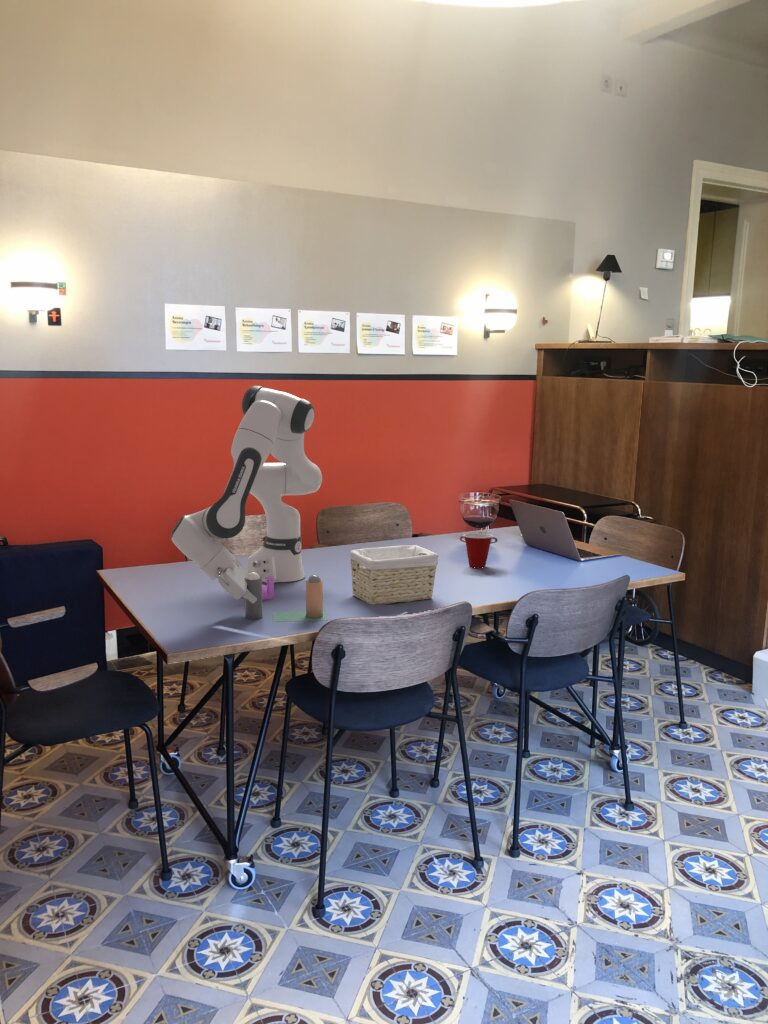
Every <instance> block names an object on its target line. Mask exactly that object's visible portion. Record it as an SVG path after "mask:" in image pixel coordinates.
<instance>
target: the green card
mask: <svg viewBox="0 0 768 1024" xmlns="http://www.w3.org/2000/svg"><path fill="white" fill-rule="evenodd" d="M272 615H273V617H272V618H273V619H272V621H273V623H274V622H275V623H280V622H282V623H285V622H319V621H321V622H322V621H323V622H324V621H328V617H327V616H328V615H327V610H323V616H322V617H320V618H309V617H306V610H295V611H294V610H293V611H292V610H290V611H289V610H286V611H273V614H272Z"/></svg>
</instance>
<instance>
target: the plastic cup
mask: <svg viewBox="0 0 768 1024" xmlns="http://www.w3.org/2000/svg"><path fill="white" fill-rule="evenodd" d="M462 536H463V538H464V541H465V542H464V543H465V546H466V547H465V548H466V555H467V559H468V566H469V567H470V568H471V567H475V568H474V569H483V568H482V567H484V568H486V565H487V560H488V557H489V552H490V551H489V550H490V547H491V542H492V540H493V537H494V535H493V534H490V533H489V534H488V533H480V532H477V533H464V534H463V535H462Z"/></svg>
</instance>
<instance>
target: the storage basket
mask: <svg viewBox="0 0 768 1024" xmlns="http://www.w3.org/2000/svg"><path fill="white" fill-rule="evenodd" d="M349 559H350V564H351V565H350V567H351V568H350V570H351V586H352V594H353V596H355V597H356V598H358V600H361V601H364V602H366V603H367V604H370V605H377V604H379V605H380V604H381V605H386V604H389V605H390V604H394V603H409V602H415V601H419V600H421V601H422V600H426V599H427V600H428V599H432V598H433V592H434V586H435V578H436V571H437V566H438V564H439V563H438V562H439V554H438V553H436V552H434V551H432V550H429V549H427V548H424V547H421V546H419V545H417V544H413V545H411V544H410V545H408V544H406V545H404V544H403V545H392V546H381V547H380V546H378V547H366V548H360V549H352V550H350V551H349Z"/></svg>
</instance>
